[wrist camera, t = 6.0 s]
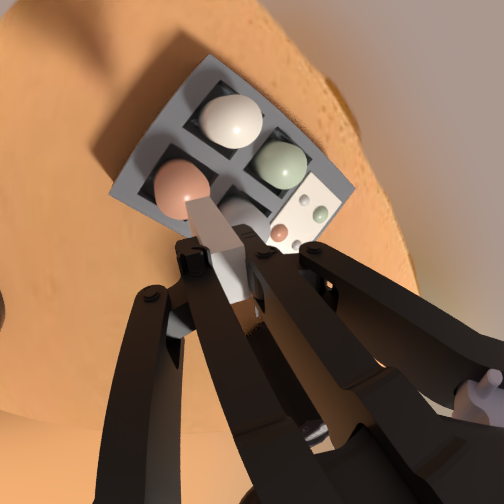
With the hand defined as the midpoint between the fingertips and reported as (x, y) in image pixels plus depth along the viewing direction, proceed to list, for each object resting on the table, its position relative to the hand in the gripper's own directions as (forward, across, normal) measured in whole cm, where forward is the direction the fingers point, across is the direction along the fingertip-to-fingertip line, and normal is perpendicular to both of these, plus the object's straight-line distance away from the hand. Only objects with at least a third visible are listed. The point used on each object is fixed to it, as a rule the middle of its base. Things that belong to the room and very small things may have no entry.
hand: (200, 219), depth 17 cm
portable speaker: (+14, +8, -28) cm, 33 cm away
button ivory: (+10, +4, +5) cm, 12 cm away
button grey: (+10, +4, -5) cm, 12 cm away
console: (+13, +6, -2) cm, 15 cm away
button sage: (+12, +9, 0) cm, 15 cm away
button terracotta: (+10, 0, 0) cm, 10 cm away
